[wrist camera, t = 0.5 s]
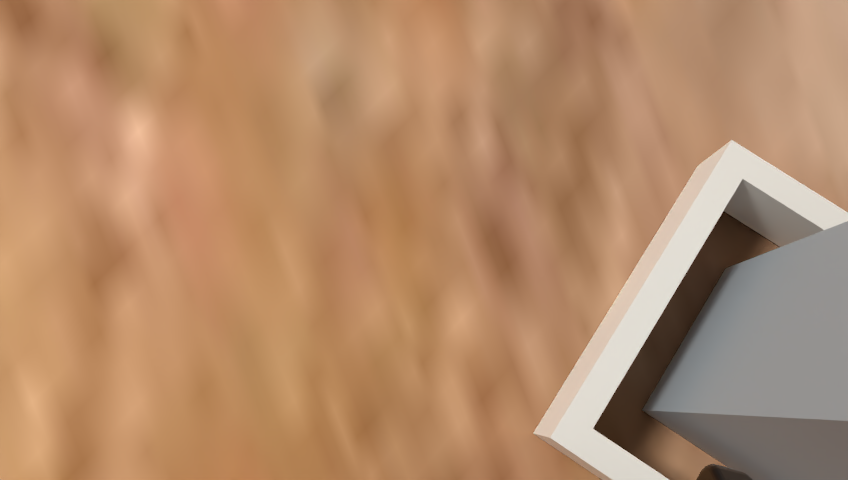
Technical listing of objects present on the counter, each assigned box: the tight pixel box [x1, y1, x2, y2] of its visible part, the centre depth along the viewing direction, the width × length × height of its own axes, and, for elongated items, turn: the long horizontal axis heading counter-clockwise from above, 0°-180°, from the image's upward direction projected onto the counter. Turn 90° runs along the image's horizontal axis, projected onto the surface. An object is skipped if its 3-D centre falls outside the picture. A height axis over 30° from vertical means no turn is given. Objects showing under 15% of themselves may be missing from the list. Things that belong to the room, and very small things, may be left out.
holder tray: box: [533, 140, 848, 480], centre depth 22 cm, size 10×10×2 cm
